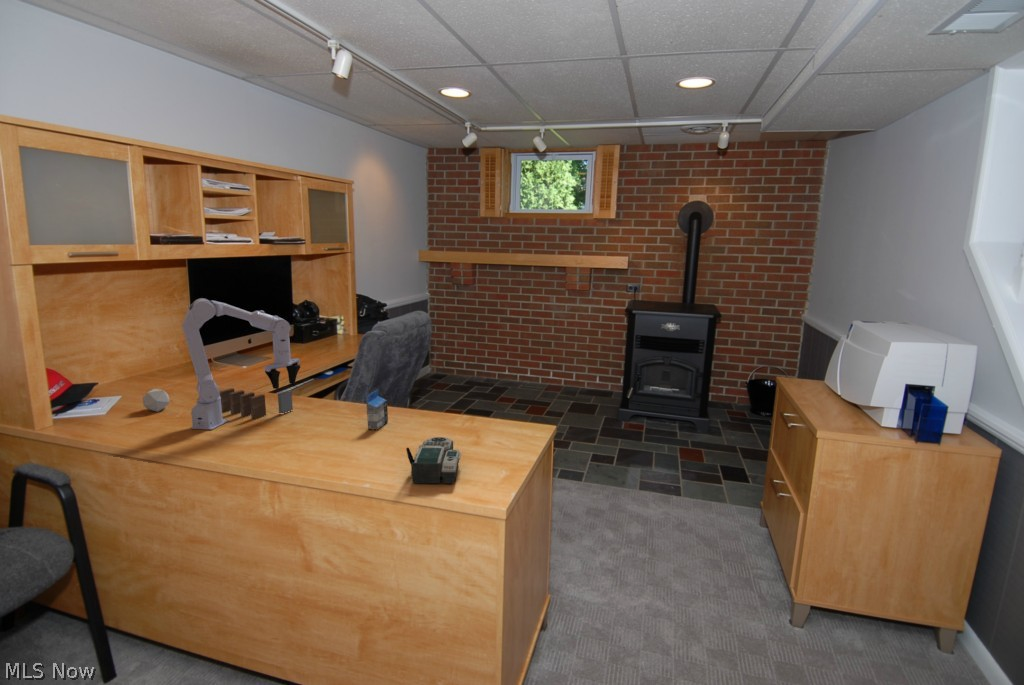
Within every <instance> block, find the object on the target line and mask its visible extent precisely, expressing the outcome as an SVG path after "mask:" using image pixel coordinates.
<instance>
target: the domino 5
mask: <svg viewBox="0 0 1024 685" xmlns="http://www.w3.org/2000/svg"><path fill="white" fill-rule="evenodd" d="M277 401H278V402H277V404H278V405H277V406H278V414H279V413H285V412H288V411H291V410H293V393H292V390H289V389H288V390H285V391H283V392H279V393H277ZM293 411H294V410H293Z"/></svg>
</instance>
